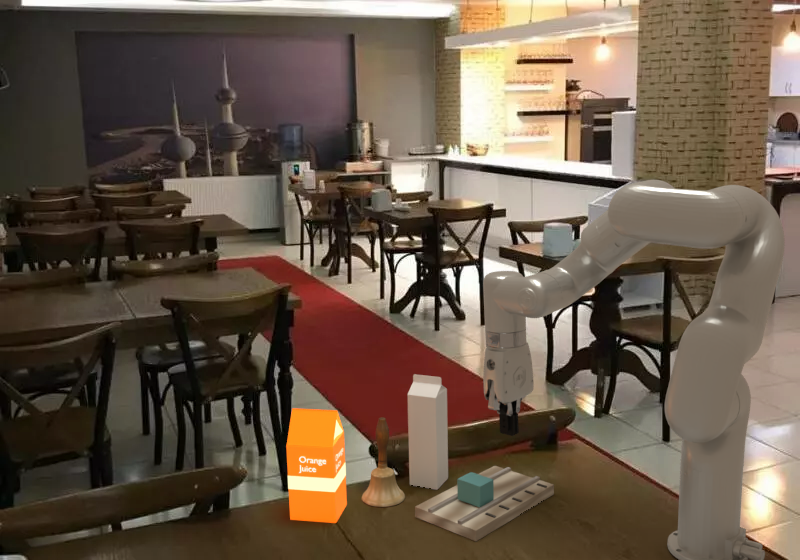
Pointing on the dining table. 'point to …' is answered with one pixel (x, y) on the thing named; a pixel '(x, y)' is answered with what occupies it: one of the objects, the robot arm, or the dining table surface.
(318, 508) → the orange juice
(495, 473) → the count board
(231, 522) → the dining table surface
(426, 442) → the milk
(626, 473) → the dining table surface
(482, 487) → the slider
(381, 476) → the hand bell
